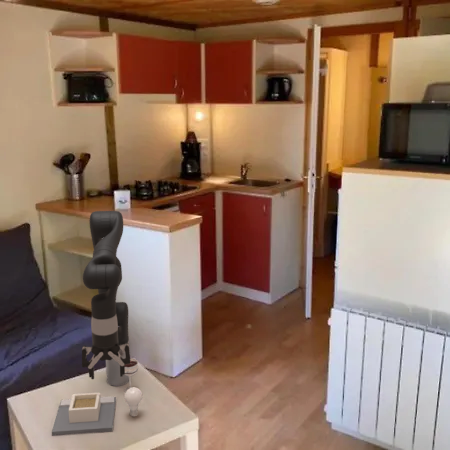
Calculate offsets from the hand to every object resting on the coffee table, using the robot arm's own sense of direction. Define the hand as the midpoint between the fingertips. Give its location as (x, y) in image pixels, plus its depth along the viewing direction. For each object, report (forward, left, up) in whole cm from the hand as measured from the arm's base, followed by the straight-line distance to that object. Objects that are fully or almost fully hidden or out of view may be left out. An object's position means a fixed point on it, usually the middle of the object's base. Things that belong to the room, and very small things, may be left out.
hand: (107, 376), depth 158 cm
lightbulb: (-20, +6, -29) cm, 36 cm away
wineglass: (-36, +4, -29) cm, 46 cm away
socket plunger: (-21, -11, -25) cm, 34 cm away
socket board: (-21, -11, -29) cm, 37 cm away
